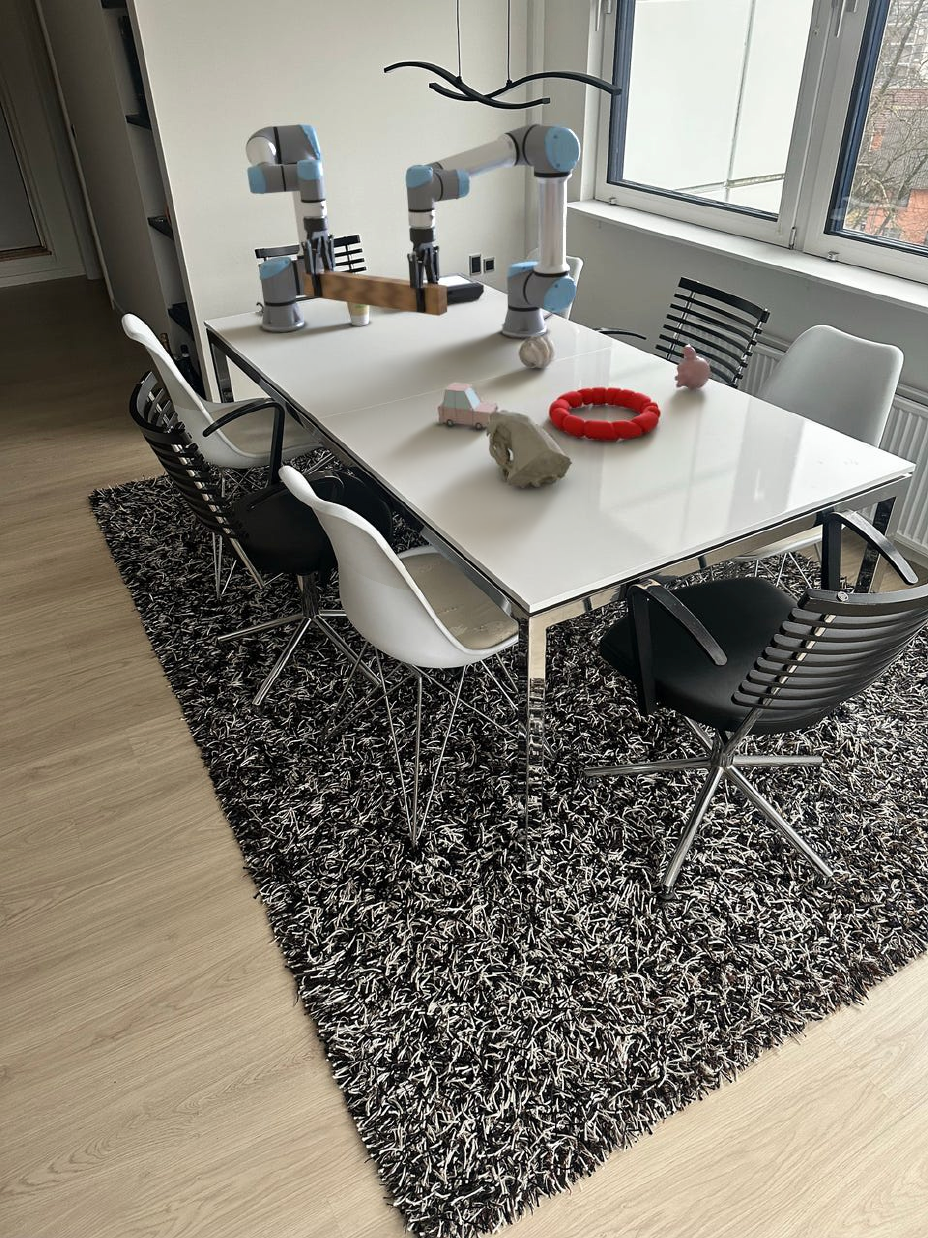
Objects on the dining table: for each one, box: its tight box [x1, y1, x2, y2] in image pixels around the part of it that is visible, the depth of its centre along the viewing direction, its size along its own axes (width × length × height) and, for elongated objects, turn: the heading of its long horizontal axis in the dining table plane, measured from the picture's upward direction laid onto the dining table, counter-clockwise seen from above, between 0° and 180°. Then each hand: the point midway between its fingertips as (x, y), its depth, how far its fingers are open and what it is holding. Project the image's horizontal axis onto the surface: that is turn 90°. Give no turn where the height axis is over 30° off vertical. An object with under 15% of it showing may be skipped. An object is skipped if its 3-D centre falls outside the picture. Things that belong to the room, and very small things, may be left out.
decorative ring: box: [548, 386, 661, 442], centre depth 242 cm, size 7×30×30 cm
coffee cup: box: [346, 302, 370, 327], centre depth 323 cm, size 10×10×15 cm
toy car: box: [437, 382, 499, 431], centre depth 243 cm, size 9×15×10 cm, turn 70°
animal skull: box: [485, 409, 573, 489], centre depth 216 cm, size 17×25×20 cm
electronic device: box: [423, 273, 485, 305], centre depth 349 cm, size 32×6×20 cm
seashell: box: [518, 335, 556, 369], centre depth 279 cm, size 10×15×10 cm
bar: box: [302, 269, 448, 317], centre depth 276 cm, size 52×5×8 cm, turn 58°
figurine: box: [674, 344, 711, 390], centre depth 259 cm, size 9×11×12 cm
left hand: (323, 294), depth 287 cm, fingers closed on bar, 5 cm apart
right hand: (426, 309), depth 269 cm, fingers closed on bar, 5 cm apart
